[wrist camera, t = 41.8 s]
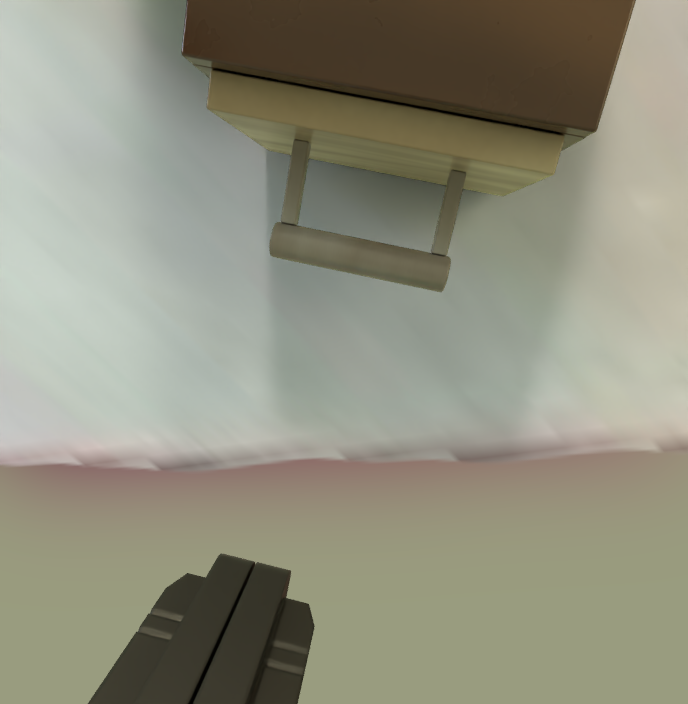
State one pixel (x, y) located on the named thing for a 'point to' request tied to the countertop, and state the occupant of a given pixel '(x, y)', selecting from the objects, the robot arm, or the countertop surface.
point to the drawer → (378, 164)
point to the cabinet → (427, 52)
